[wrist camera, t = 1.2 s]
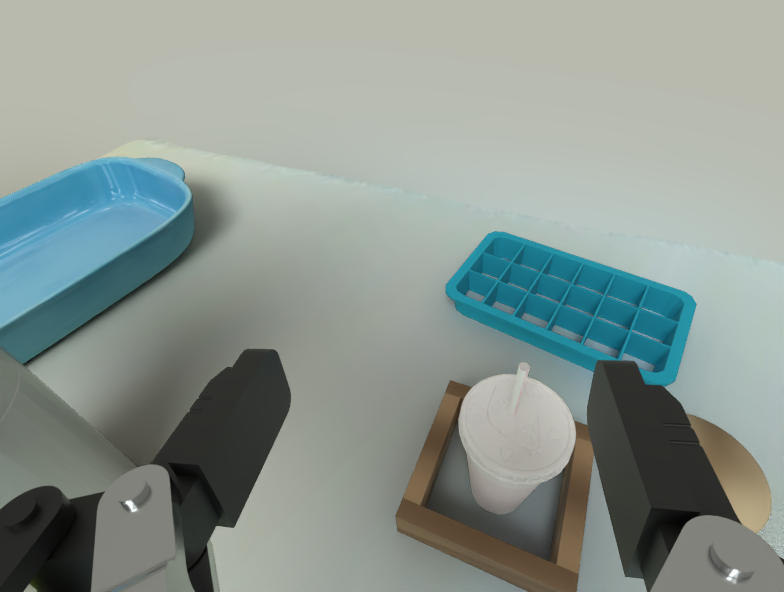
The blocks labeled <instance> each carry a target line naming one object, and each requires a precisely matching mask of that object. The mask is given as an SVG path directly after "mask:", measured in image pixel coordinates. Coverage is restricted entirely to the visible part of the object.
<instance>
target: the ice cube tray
mask: <svg viewBox="0 0 784 592" xmlns="http://www.w3.org/2000/svg"><path fill="white" fill-rule="evenodd" d="M498 257H499V258H498ZM501 258H505V259H508V260H511V262H509V261H507V260H504V259H501ZM521 264H522V265H525V266H528V267H531V268H533V269H536V270H539V271H540V272H537V271H535V270H532V269H529V268H526V267H523V266H521ZM482 272H483V273H485V274H488V275H490V276H493V277H496V278H498V280H496V279H493V278H490V277H488V276H485V275H483V274H482ZM548 274H550V275H553V276H556V277H559V278H561V279H564V280H567V281H570V282H571V283H568V282H565V281H562V280H560V279H557V278H554V277H551V276H548ZM508 282H509V283H512V284H514V285H517V286H519V287H522V288H525V289H527V290H528V292H527V291H524V290H522V289H519V288H516V287H514V286H511V285H509V284H508ZM576 284H578V285H581V286H584V287H587V288H589V289H592V290H595V291H598V292H601V293H603V294H604V295H601V294H599V293H596V292H593V291H590V290H587V289H585V288H582V287H579V286H576ZM469 290H470V291H473V292H475V293H478V294H480V295H483V296H485V298H484V300H483V301H482V303H481V302H479V301H477V300H474V299H472V298H469V297H467V296H465V295H466V293H467V292H468V291H469ZM536 293H538V294H540V295H543V296H546V297H548V298H551V299H554V300H556V301H559V302H560V304H558V303H556V302H553V301H550V300H548V299H545V298H543V297H540V296H537V295H535V294H536ZM446 294H447V295H448V296H449V297H450V298H451V299H452V300H454V301H455V306H456V310H457V311H459V312H460V313H461V314H463V315H464V316H467V317H469V318H471V319H474V320H476V321H478V322H480V323H483V324H485V325H487V326H490V327H492V328H494V329H497V330H499V331H501V332H503V333H506V334H508V335H510V336H513V337H515V338H517V339H520V340H522V341H524V342H526V343H529V344H531V345H533V346H536V347H538V348H540V349H543V350H545V351H547V352H549V353H552V354H554V355H556V356H559V357H561V358H563V359H565V360H568V361H570V362H572V363H575V364H577V365H579V366H582V367H584V368H586V369H588V370H591V371H593V372H594V370H595V365H596V362H597V361H598V360H618V361H621V358H622V355H623V353H626V354H628V355H631V356H633V357H636V358H638V359H641V360H643V361H646V362H648V363H651V364H653V365H655V368H654V371H653V372H648V371H646V370H643V369H641V368H639V370H640V373H641V375H642V377H643V380H644V382H645V384H646V385H662V386H667V385H669V384H671V383H673V382H674V381H675V380H676V376H677V373H678V369H679V366H680V362H681V359H682V355H683V351H684V348H685V344H686V341H687V337H688V333H689V330H690V326H691V323H692V319H693V315H694V312H695V308H696V305H697V304H696V302H695V301H694V299H693V297H692V296H690V295H689V294H687V293H686V292H684V291H681V290H678V289H675V288H672V287H669V286H666V285H663V284H660V283H657V282H654V281H651V280H648V279H645V278H642V277H639V276H636V275H633V274H630V273H626V272H623V271H620V270H617V269H614V268H611V267H608V266H605V265H602V264H599V263H596V262H593V261H590V260H587V259H584V258H581V257H578V256H575V255H572V254H569V253H566V252H563V251H560V250H557V249H554V248H551V247H548V246H545V245H542V244H539V243H536V242H533V241H530V240H527V239H524V238H521V237H517V236H514V235H511V234H508V233H505V232H496V231H495V232H492V233H489V234H488V235H487V236H486V237H485V238H484V239H483V241H482V242H481V243H480V244H479V245H478V247H477V248H476V249H475V250H474V252H473V253H472V254H471V255H470V256H469V258H468V259H467V260H466V261H465V262H464V264H463V265H462V266H461V267H460V268H459V270H458V271H457V272H456V273H455V274H454V276H453V277H452V278H451V279H450V280H449V282H448V283H447V284H446ZM607 295H609V296H612V297H615V298H617V299H620V300H623V301H626V302H629V303H631V304H634V305H637V307H635V306H632V305H629V304H626V303H624V302H621V301H618V300H615V299H613V298H610V297H607ZM495 301H498V302H500V303H503V304H505V305H507V306H510V307H512V308H515V309H516V310H515V312H514V313H513V315H510V314H508V313H506V312H503V311H501V310H498V309H496V308H493V307H492V305H493V304H494V302H495ZM566 304H567V305H569V306H572V307H575V308H577V309H580V310H582V311H585V312H588V313H590V314H593V315H594V316H593V317H592V316H589V315H587V314H584V313H582V312H579V311H576V310H574V309H571V308H569V307H566V306H565V305H566ZM641 307H643V308H645V309H648V310H651V311H654V312H657V313H659V314H661V315H663V316H664V317H663V316H660V315H657V314H654V313H651V312H649V311H646V310H643V309H641ZM524 312H525V313H527V314H530V315H532V316H535V317H537V318H540V319H542V320H544V321H547V322H549V323H548V325H547V327H546V328H545V329H544V328H542V327H539V326H537V325H534V324H532V323H530V322H527V321H525V320H522V319H520V318H521V317H522V315H523V313H524ZM597 316H598V317H601V318H604V319H606V320H609V321H611V322H614V323H617V324H619V325H622V326H625V327H627V328H628V330H626V329H623V328H621V327H618V326H616V325H613V324H610V323H608V322H605V321H602V320H600V319H597V318H596V317H597ZM665 317H666V318H665ZM554 325H557V326H559V327H562V328H564V329H567V330H569V331H572V332H574V333H577V334H579V335H582V336H584V337H583V339H582V341H581V344H580V343H578V342H576V341H573V340H571V339H568V338H566V337H563V336H561V335H559V334H556V333H554V332H551V330H552V328H553V326H554ZM632 330H635V331H638V332H640V333H643V334H646V335H648V336H651V337H653V338H656V339H659V340H661V341H663V344H662V343H660V342H657V341H655V340H652V339H649V338H647V337H644V336H642V335H639V334H636V333H634V332H632ZM586 338H589V339H591V340H594V341H596V342H599V343H601V344H604V345H606V346H609V347H611V348H614V349H616V350H619V353H618V355H617V358H614V357H612V356H609V355H607V354H605V353H602V352H600V351H597V350H595V349H592V348H590V347H588V346H585V345H584V343H585V340H586Z"/></svg>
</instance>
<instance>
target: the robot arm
mask: <svg viewBox="0 0 784 592" xmlns="http://www.w3.org/2000/svg"><path fill="white" fill-rule="evenodd" d="M290 403H291V393H290V388H289V385H288V382H287V379H286V376H285V373H284V370H283V367H282V364H281V361H280V358H279V355H278V353H277V351H276V350H273V349H246V350H244V351H243V353H242V354H241V355H240V357H239V358H238V360H237V361H236V363H235V364H234V366H233V367H227V368H225V369H224V370H223V371H222V372H220V373H219V374H218V375H217V376H215V377H214V378H213V379H212V380H210V382H209V383H208V385H207V386H206V387H205V389H204V390H203V392H202V393H201V394H200V396H199V399H197V400H196V401H195V403H194V404H193V406H192V407H191V408H190V412H188V413H187V414H186V415H185V417H184V418H183V419H182V421H181V422H180V424H179V425H178V426H177V428H176V429H175V431H174V432H173V433H172V435H171V436H170V438H169V439H168V440H167V442H166V443H165V445H164V446H163V447H162V449H161V450H160V452H159V453H158V454H157V456H156V457H155V459H154V460H153V461H152V463H151V464H150V465H144V466H140V467H137V466H136V465H135V464H133V463H132V462H131V461H130V460H129V459H128V458H127V457H126V456H125V455H124V454H122V453H121V452H120V451H119V450H118V449H117V448H116V447H115V446H114V445H112V444H111V443H110V441H108V440H107V439H106V438H105V437H104V436H103V435H102V434H101V433H99V432H98V431H97V430H96V429H95V428H94V427H93V426H92V425H90V424H89V423H88V422H87V421H86V420H85V419H84V418H83V417H81V416H80V415H79V414H78V413H77V412H76V411H75V410H74V409H72V408H71V407H70V406H69V405H68V404H67V403H66V402H65V401H63V400H62V399H61V398H60V397H59V396H58V395H57V394H56V393H54V392H53V391H52V390H51V389H50V388H49V387H48V386H47V385H46V384H44V383H43V382H42V381H41V380H40V379H39V378H38V377H37V376H35V375H34V374H33V373H32V372H31V371H30V370H29V369H28V368H26V367H25V366H24V365H23V364H22V363H21V362H20V361H19V360H17V359H16V358H15V357H14V356H13V355H12V354H10V353H9V352H8V351H7V350H6V349H4V348H3V347H2V346H1V345H0V592H220V589H219V583H218V576H217V570H216V564H215V558H214V551H213V545H212V542H211V540H210V537H211V535H212V533H213V531H214V529H215V527H216V526H223V527H231V528H234V527H235V525H236V523H237V521H238V518H239V516H240V514H241V512H242V510H243V508H244V506H245V503H246V501H247V499H248V497H249V495H250V493H251V491H252V489H253V486H254V484H255V482H256V480H257V478H258V476H259V474H260V472H261V469H262V467H263V465H264V463H265V461H266V459H267V457H268V454H269V452H270V450H271V448H272V446H273V444H274V442H275V440H276V437H277V435H278V433H279V431H280V429H281V427H282V425H283V422H284V420H285V418H286V416H287V414H288V411H289V408H290ZM587 423H588V430H589V435H590V439H591V443H592V447H593V451H594V455H595V459H596V463H597V467H598V471H599V475H600V479H601V483H602V487H603V491H604V495H605V499H606V503H607V507H608V510H609V514H610V518H611V522H612V526H613V530H614V534H615V538H616V542H617V546H618V550H619V554H620V558H621V562H622V566H623V570H624V574H625V577H633V578H641V579H644V581H645V585H646V589H647V592H784V559H782V558H780V557H779V556H778V555H777V553H776V552H775V551H774V550H773V549H772V548H771V546H770V545H769V544H768V543H767V542H766V541H764V540H763V539H762V538H761V537H760V536H759V535H757V534H756V533H755V532H753V531H752V530H750V529H749V528H747V527H745V526H743V524H742V523H741V522H740V520H739V518H738V517H737V515H736V513H735V511H734V509H733V507H732V505H731V503H730V501H729V499H728V497H727V495H726V493H725V491H724V489H723V487H722V485H721V483H720V481H719V479H718V477H717V475H716V473H715V471H714V469H713V467H712V465H711V463H710V461H709V459H708V457H707V455H706V453H705V451H704V449H703V447H702V446H700V441H699V439H698V437H697V435H696V433H695V431H694V429H693V428H691V423H690V421H689V419H688V417H687V415H686V413H685V411H684V409H683V407H682V405H681V403H680V402H679V401H678V400H677V399H676V398H675V397H673V396H672V395H671V394H670V393H669V392H668V391H667V390H666V389H665V388H664V387H663V386H662V385H646V384H645V382H644V380H643V377H642V375H641V373H640V370H639V368H638V366H637V364H636V363H635V362H634V361H618V360H598V361H597V362H596V365H595V370H594V375H593V380H592V385H591V390H590V395H589V401H588V406H587Z"/></svg>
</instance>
